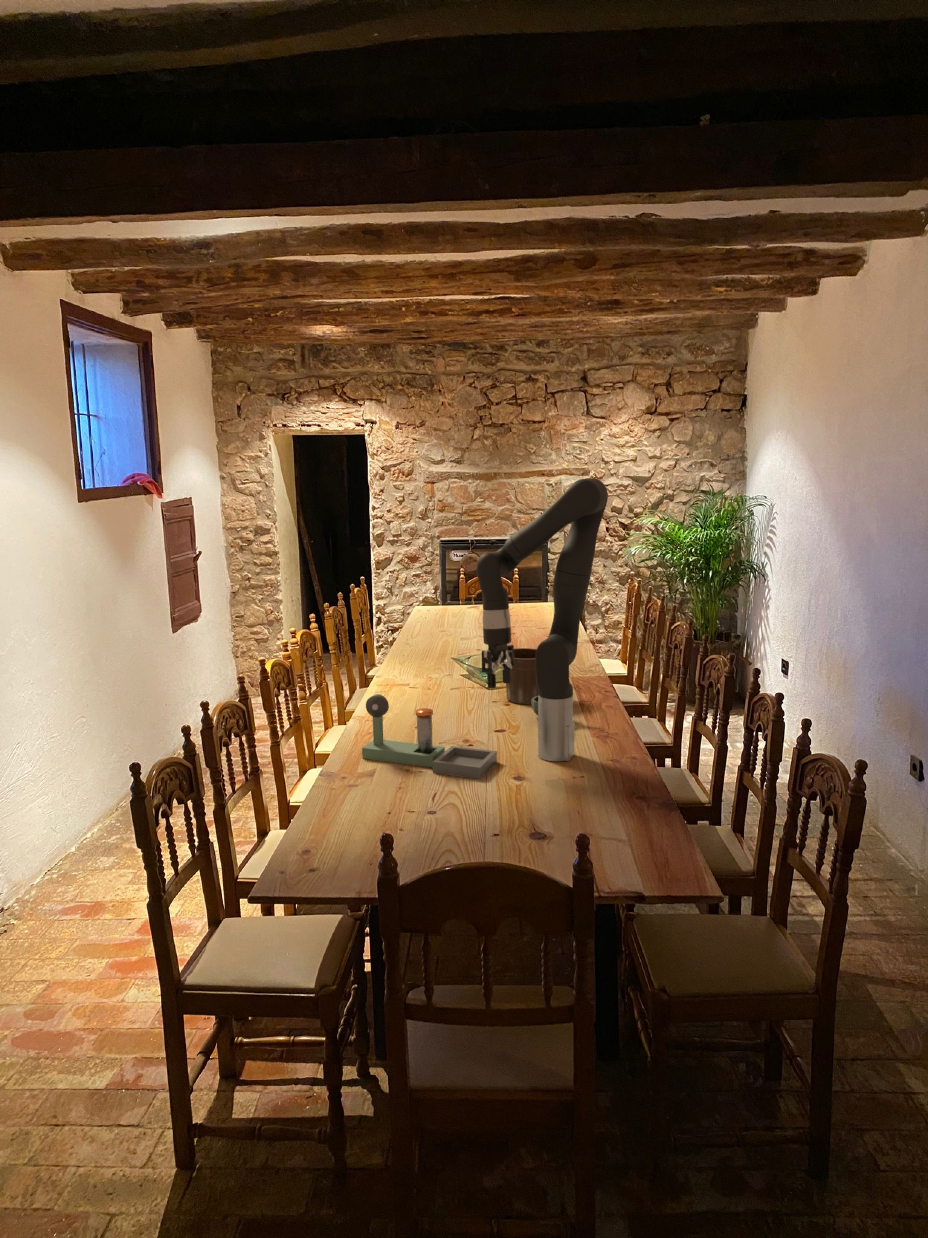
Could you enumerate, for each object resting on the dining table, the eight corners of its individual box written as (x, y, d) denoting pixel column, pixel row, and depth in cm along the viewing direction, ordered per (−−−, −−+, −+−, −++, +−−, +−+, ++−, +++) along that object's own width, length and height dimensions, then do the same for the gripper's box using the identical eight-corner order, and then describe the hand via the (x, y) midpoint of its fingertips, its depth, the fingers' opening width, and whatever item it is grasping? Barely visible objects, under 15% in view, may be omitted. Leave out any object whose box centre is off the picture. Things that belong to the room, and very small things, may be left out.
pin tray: (496, 762, 227) (496, 751, 227) (480, 779, 215) (479, 767, 215) (451, 756, 232) (451, 745, 231) (433, 772, 220) (432, 761, 219)
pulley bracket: (444, 757, 231) (443, 697, 228) (433, 767, 224) (431, 705, 221) (375, 749, 239) (373, 690, 235) (362, 758, 231) (360, 698, 228)
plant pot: (549, 693, 292) (550, 647, 289) (549, 707, 277) (550, 658, 274) (502, 692, 294) (502, 647, 291) (500, 706, 278) (499, 658, 275)
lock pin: (436, 759, 230) (435, 709, 227) (429, 764, 226) (428, 714, 223) (421, 757, 232) (419, 707, 229) (414, 762, 228) (412, 712, 225)
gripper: (496, 628, 221) (499, 690, 223) (521, 623, 234) (523, 681, 235) (471, 628, 225) (474, 689, 227) (497, 623, 237) (500, 681, 239)
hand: (499, 685), depth 231 cm, fingers open, 8 cm apart
